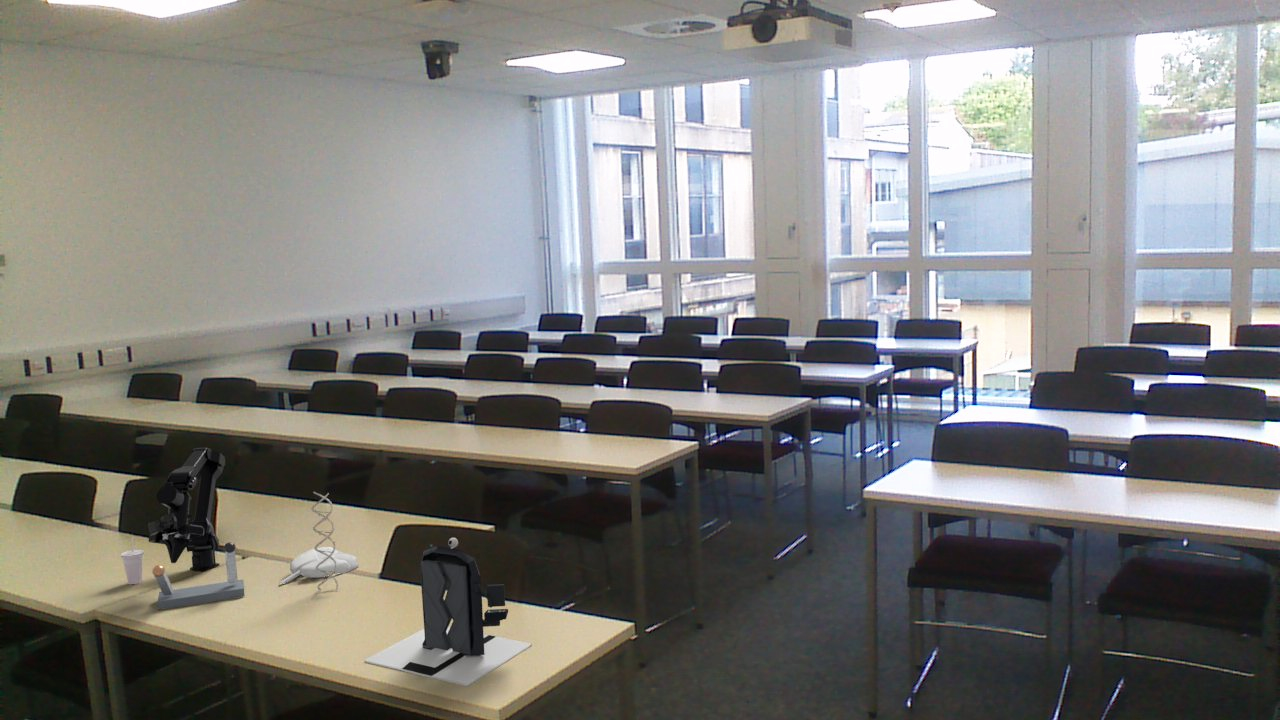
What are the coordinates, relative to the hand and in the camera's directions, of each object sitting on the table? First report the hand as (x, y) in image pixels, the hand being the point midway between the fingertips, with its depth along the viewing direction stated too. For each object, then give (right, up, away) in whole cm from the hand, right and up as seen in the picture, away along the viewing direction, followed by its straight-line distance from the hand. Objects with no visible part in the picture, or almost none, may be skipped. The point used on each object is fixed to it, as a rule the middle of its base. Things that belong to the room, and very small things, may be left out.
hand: (173, 563), depth 290 cm
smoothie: (-18, -9, +12) cm, 23 cm away
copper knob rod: (+3, -8, -8) cm, 11 cm away
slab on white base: (+93, -12, -50) cm, 106 cm away
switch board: (+11, -10, -4) cm, 15 cm away
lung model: (+37, -7, +15) cm, 41 cm away
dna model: (+47, -8, -1) cm, 48 cm away
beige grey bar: (+19, -6, -2) cm, 20 cm away
